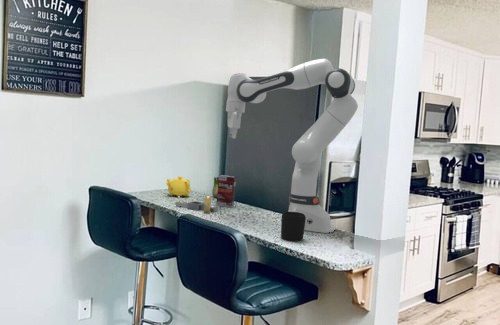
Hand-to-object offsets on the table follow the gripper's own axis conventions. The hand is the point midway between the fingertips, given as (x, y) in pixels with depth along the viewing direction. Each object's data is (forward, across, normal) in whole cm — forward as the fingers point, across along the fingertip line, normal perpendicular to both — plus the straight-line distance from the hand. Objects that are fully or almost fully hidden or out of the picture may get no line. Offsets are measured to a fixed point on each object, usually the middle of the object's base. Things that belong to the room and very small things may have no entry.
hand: (232, 137), depth 232 cm
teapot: (+38, +48, +23) cm, 65 cm away
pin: (+37, +1, +8) cm, 38 cm away
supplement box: (+37, +22, -2) cm, 43 cm away
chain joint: (+37, +10, +13) cm, 40 cm away
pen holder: (+36, -45, -22) cm, 61 cm away
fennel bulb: (+37, +50, -1) cm, 63 cm away
